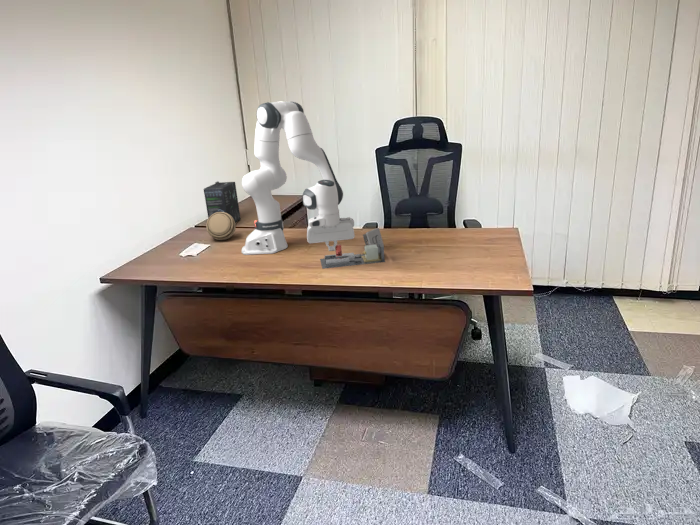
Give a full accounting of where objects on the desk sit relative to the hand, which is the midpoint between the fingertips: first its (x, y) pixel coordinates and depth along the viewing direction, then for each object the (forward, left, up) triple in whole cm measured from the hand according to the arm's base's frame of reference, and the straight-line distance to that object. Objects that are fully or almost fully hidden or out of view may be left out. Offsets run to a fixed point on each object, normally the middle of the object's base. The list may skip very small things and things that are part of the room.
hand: (331, 250), depth 207 cm
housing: (+17, 0, -5) cm, 18 cm away
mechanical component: (-53, +59, -7) cm, 80 cm away
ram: (+7, 0, -5) cm, 9 cm away
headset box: (-55, +92, -7) cm, 108 cm away
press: (+8, 0, -6) cm, 10 cm away
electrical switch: (+21, +16, -7) cm, 27 cm away
